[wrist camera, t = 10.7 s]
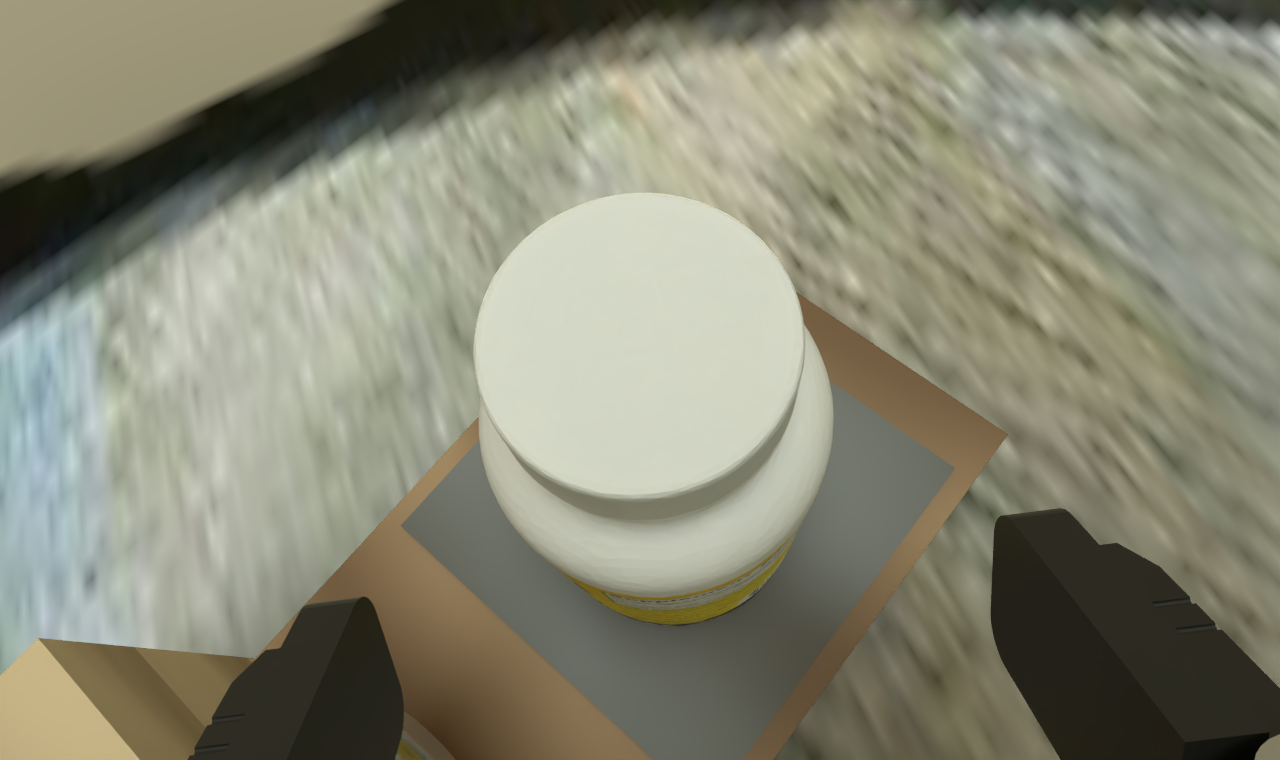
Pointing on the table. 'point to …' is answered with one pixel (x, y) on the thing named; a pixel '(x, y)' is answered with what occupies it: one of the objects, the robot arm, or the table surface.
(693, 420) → the supplement bottle
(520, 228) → the table surface
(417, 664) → the shaft bench
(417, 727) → the shaft
